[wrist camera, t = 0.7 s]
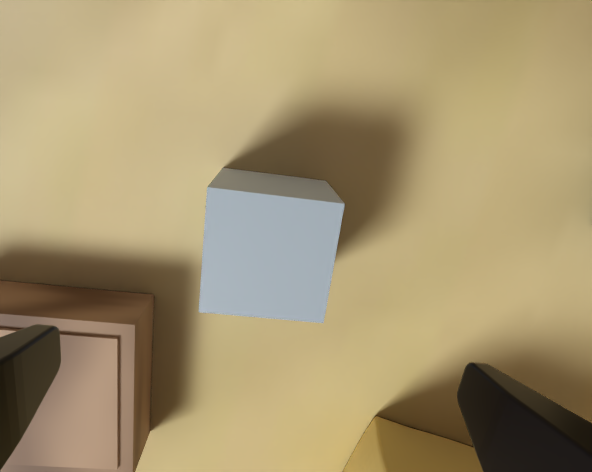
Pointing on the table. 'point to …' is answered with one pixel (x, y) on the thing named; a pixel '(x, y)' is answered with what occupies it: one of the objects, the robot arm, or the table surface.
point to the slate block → (269, 245)
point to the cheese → (409, 451)
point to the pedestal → (86, 377)
